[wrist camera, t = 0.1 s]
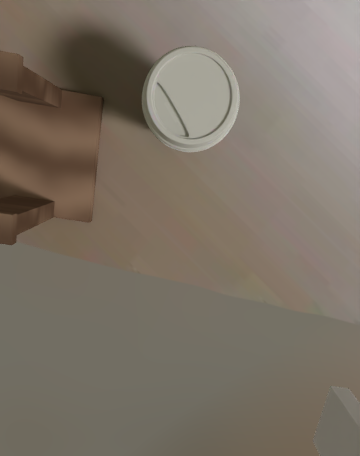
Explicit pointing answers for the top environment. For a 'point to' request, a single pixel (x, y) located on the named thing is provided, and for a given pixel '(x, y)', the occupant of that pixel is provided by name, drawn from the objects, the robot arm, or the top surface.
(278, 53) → the top surface
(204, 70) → the coffee cup
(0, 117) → the wooden stand
